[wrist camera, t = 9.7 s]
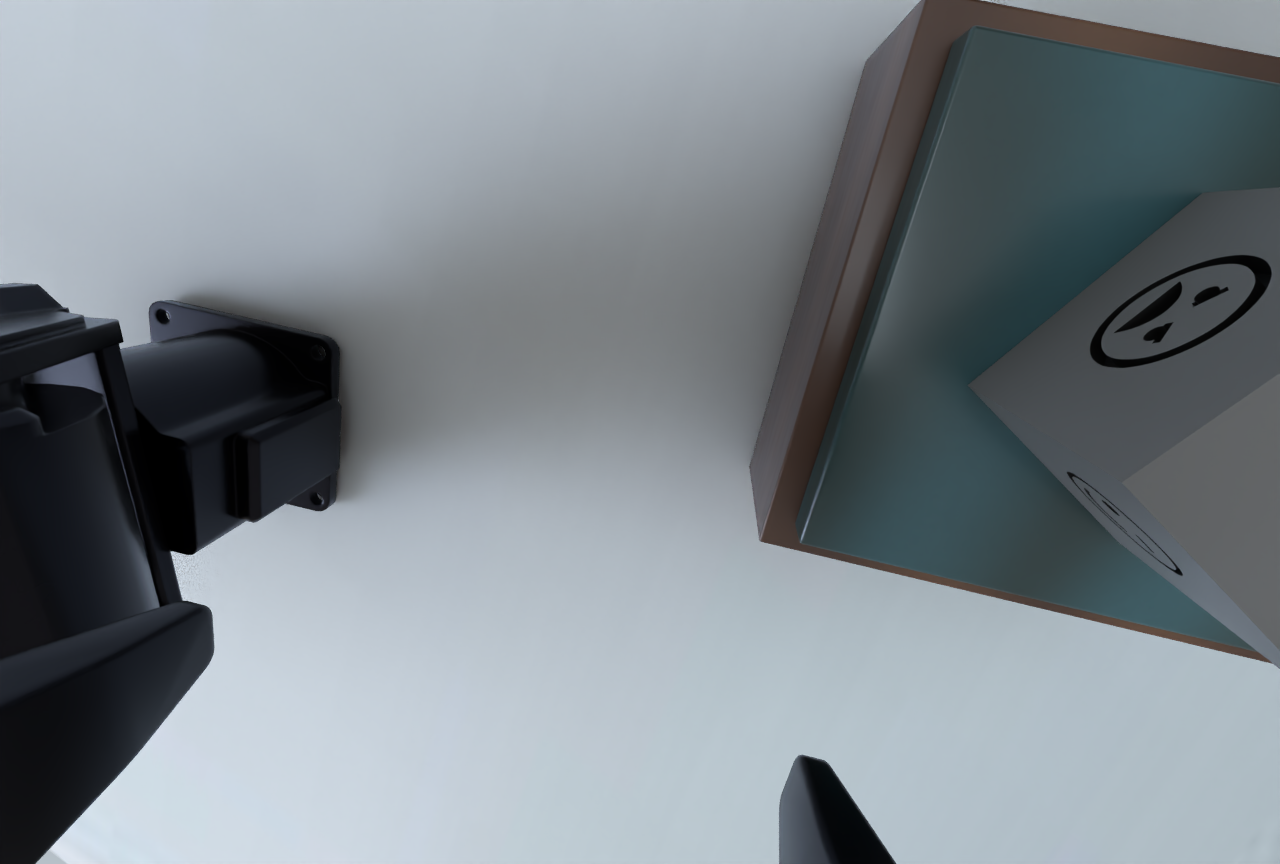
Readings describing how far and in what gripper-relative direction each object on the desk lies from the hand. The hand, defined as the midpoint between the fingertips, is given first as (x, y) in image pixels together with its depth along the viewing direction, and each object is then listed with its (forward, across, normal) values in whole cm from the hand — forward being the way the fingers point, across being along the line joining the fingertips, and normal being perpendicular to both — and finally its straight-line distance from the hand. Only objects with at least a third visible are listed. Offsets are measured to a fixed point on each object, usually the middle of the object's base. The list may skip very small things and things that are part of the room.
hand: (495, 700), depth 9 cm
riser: (+12, -11, -6) cm, 17 cm away
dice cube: (+6, -11, -6) cm, 14 cm away
